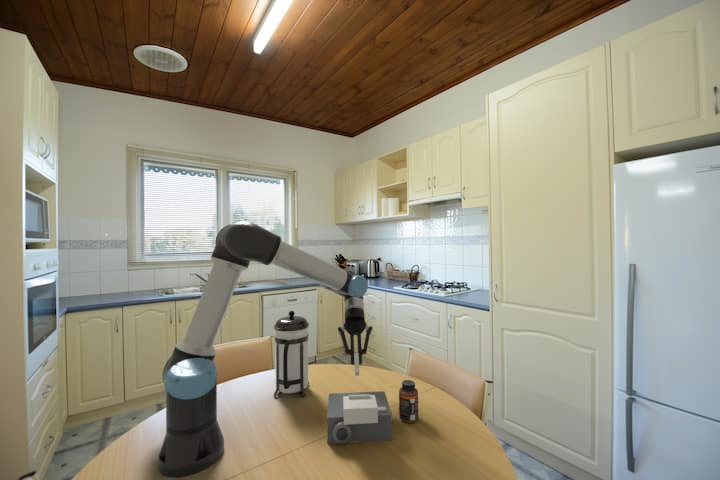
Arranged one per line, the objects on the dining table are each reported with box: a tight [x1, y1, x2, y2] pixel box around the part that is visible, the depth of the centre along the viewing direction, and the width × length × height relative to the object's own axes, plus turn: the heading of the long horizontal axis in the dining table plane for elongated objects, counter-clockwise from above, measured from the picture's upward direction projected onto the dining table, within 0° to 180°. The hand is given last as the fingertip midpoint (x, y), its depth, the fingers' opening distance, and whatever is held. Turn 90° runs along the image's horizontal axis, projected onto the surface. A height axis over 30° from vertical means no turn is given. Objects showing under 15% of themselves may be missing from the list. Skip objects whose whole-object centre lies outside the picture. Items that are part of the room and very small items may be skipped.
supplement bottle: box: [398, 379, 419, 424], centre depth 97 cm, size 6×6×11 cm
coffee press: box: [273, 310, 310, 399], centre depth 116 cm, size 17×16×30 cm
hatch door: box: [343, 394, 378, 425], centre depth 85 cm, size 9×7×5 cm
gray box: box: [326, 390, 393, 444], centre depth 92 cm, size 18×16×8 cm
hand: (357, 373), depth 103 cm, fingers closed
